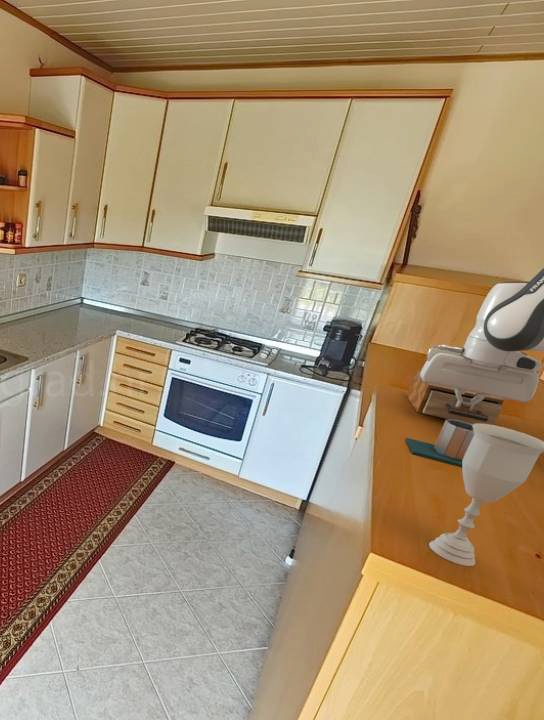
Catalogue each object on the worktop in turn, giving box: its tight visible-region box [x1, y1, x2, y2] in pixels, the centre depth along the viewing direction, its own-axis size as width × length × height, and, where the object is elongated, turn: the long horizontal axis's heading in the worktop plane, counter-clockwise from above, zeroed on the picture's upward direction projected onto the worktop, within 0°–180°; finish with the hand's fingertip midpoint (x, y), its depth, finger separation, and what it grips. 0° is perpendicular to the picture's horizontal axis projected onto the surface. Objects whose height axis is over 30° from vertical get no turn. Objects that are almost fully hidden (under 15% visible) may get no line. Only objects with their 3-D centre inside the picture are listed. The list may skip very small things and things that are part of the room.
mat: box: [405, 437, 462, 468], centre depth 98 cm, size 14×8×1 cm, turn 61°
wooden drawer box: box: [423, 388, 504, 426], centre depth 119 cm, size 19×13×6 cm
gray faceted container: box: [434, 419, 474, 461], centre depth 97 cm, size 6×6×6 cm
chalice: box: [428, 423, 544, 567], centre depth 64 cm, size 7×7×18 cm
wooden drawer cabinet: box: [406, 370, 505, 420], centre depth 124 cm, size 15×15×8 cm
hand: (462, 408), depth 115 cm, fingers closed
